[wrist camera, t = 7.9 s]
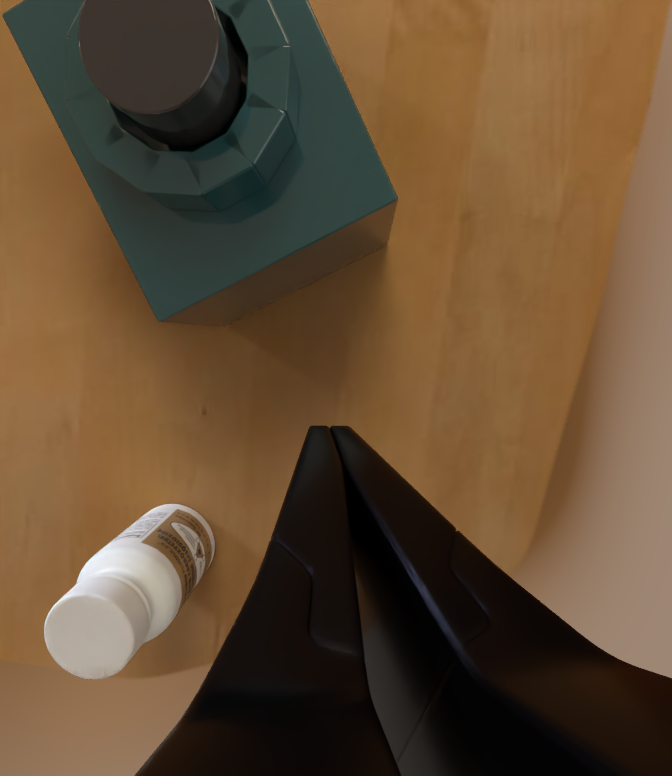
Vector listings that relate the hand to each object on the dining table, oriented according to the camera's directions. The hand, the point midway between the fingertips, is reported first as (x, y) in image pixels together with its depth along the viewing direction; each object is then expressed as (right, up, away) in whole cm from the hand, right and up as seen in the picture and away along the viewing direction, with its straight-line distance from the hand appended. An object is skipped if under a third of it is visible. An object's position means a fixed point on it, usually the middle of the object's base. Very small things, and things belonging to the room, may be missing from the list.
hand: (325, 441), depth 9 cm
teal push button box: (-4, +11, +12) cm, 17 cm away
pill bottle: (-8, -7, +15) cm, 18 cm away
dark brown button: (-4, +10, +4) cm, 11 cm away
